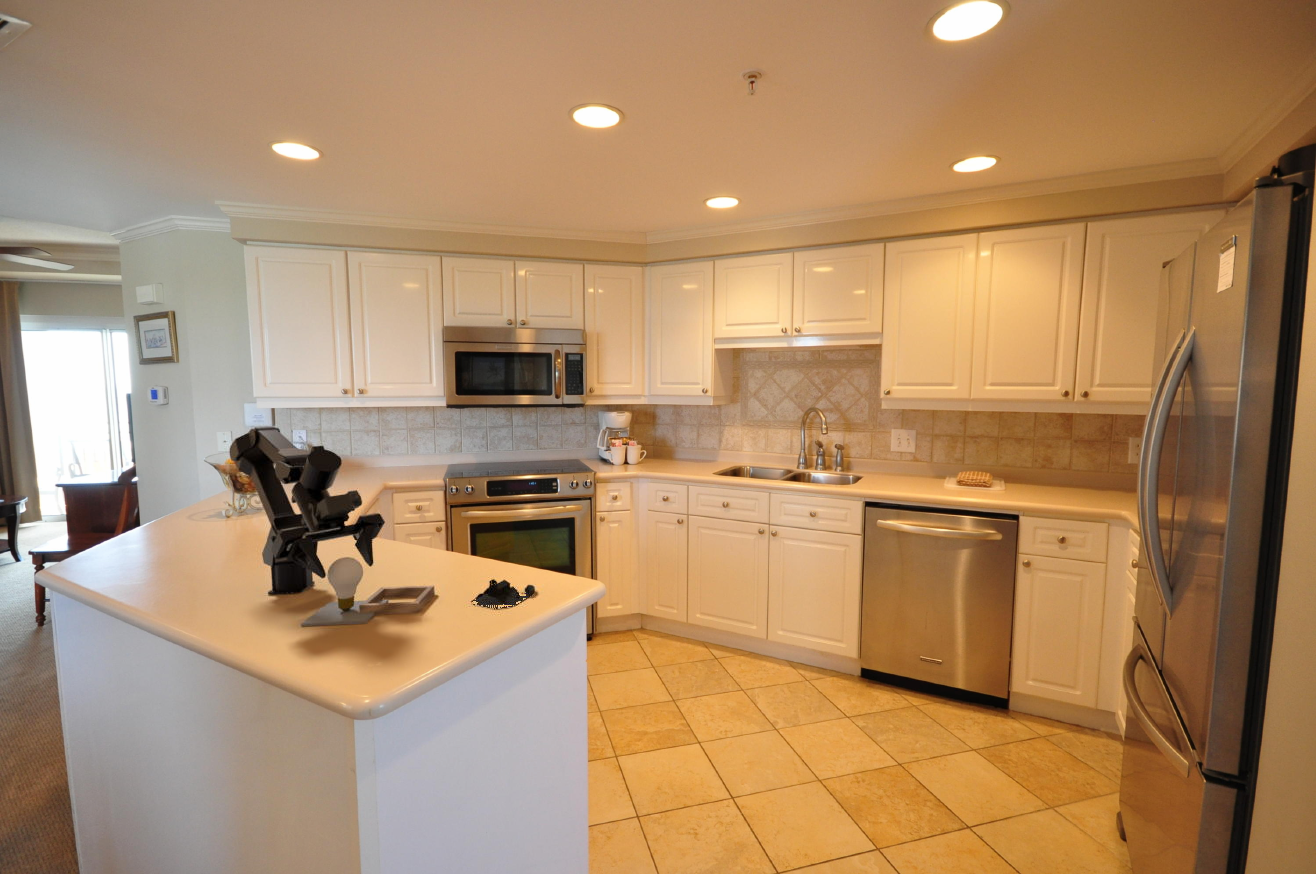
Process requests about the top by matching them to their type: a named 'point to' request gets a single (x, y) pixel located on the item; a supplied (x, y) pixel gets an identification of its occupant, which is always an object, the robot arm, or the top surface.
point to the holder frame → (398, 607)
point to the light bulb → (345, 580)
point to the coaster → (339, 615)
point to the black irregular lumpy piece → (502, 595)
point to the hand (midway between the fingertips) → (348, 570)
